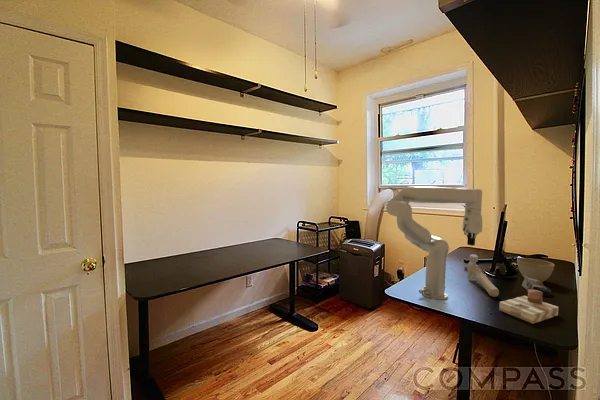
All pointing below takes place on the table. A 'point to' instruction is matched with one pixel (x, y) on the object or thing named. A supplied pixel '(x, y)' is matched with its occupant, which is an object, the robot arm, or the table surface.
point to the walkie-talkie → (467, 270)
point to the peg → (535, 297)
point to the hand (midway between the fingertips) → (470, 245)
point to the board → (528, 309)
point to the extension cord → (515, 264)
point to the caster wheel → (535, 285)
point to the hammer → (480, 276)
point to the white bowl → (535, 268)
